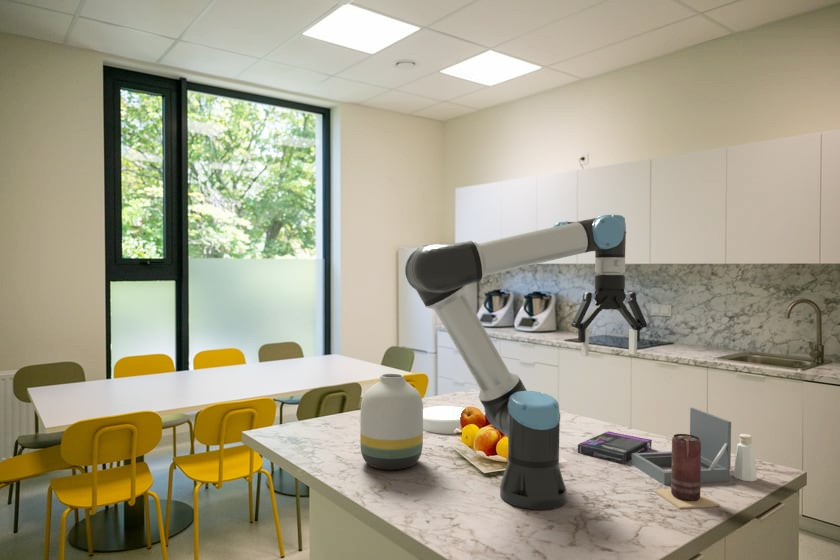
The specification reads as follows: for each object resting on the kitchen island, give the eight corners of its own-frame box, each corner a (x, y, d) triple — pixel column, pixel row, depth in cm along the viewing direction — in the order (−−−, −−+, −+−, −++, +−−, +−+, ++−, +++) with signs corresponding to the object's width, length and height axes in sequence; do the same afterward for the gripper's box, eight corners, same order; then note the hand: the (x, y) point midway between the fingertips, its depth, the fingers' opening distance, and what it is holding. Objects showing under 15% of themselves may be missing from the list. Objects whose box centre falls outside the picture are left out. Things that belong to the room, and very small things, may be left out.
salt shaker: (736, 472, 148) (737, 430, 148) (760, 477, 144) (760, 435, 144) (730, 477, 144) (730, 434, 144) (753, 483, 140) (754, 439, 140)
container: (446, 415, 206) (446, 402, 206) (488, 426, 191) (488, 413, 191) (405, 425, 192) (405, 411, 192) (446, 438, 177) (446, 423, 177)
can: (675, 501, 128) (676, 439, 128) (668, 490, 134) (669, 432, 134) (704, 503, 127) (704, 441, 126) (695, 492, 133) (696, 433, 133)
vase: (435, 463, 153) (436, 375, 152) (390, 480, 140) (391, 384, 140) (392, 449, 164) (392, 368, 164) (347, 463, 152) (347, 375, 152)
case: (664, 484, 139) (665, 424, 139) (631, 464, 153) (632, 409, 153) (730, 481, 142) (731, 421, 141) (692, 461, 156) (692, 407, 156)
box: (607, 441, 177) (576, 454, 163) (608, 430, 177) (576, 442, 163) (652, 451, 167) (622, 465, 154) (652, 439, 167) (623, 452, 154)
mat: (679, 508, 125) (679, 507, 125) (653, 491, 134) (653, 489, 134) (720, 506, 126) (720, 504, 126) (691, 489, 136) (691, 487, 136)
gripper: (571, 273, 142) (570, 357, 142) (661, 274, 146) (660, 355, 147) (559, 273, 150) (558, 353, 150) (645, 274, 154) (644, 351, 154)
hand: (608, 354), depth 148 cm, fingers open, 13 cm apart
